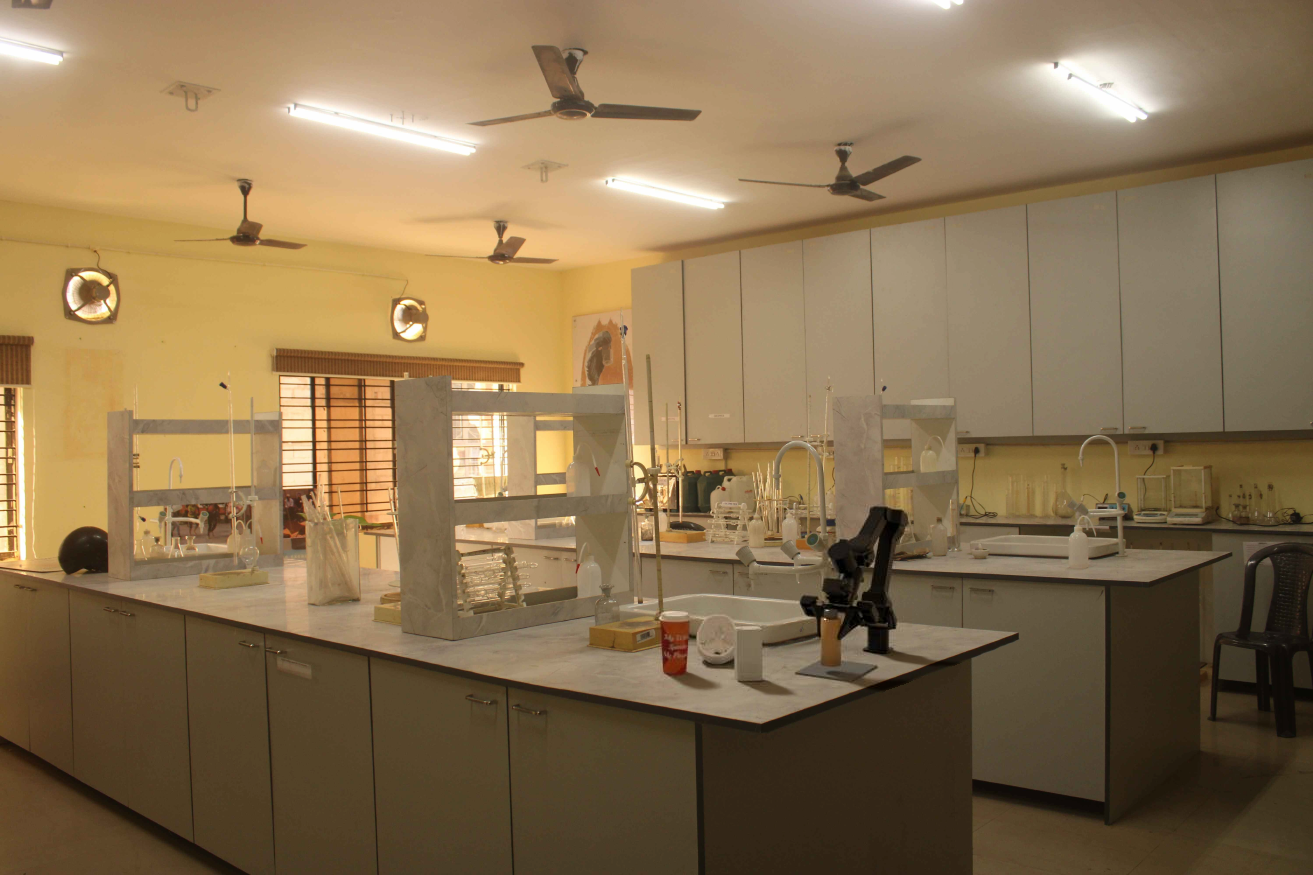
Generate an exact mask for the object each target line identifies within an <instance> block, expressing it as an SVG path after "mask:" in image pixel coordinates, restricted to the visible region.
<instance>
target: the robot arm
mask: <svg viewBox="0 0 1313 875" xmlns="http://www.w3.org/2000/svg"><path fill="white" fill-rule="evenodd" d="M908 523H909V516H908V514H907V512H905V510H904V509H902V508H901V509H898V508H891V507H888V506H884V505H883V506H882V505H880V506H879V505H874V506H871V507H870V508H869V514H868V515H867V517H866V520H865V521H864V522H863V525H862V527H861V528H860V529H859V532H858V534H857V535H856V536H854V537H852V538H850V539H849V540H848V539H847V538H845V539H843V538H840V539H839V540H838V542H836V543H832V545H830V546H829V548H828V549H827V555H828V558H829V560H830V562H831V564H832V567H833V570H834V571H835V572H836V573H838V575H837V578H833V577H832V578H829V577H824V578H823V581H822V586H821V591H822V592H823V593H825V595H824V596H825V597H824V598H825V599H826V601H827V600H828V602H826V601H823V600H822V599H819V596H818V595H812V594H811V595H810V594H809V595H808V594H803V595H802V596H801V597H800V600H799V605H800V607H801V610H802V612H803V613H804V615H805V616H807V617H808V618H815V619H816V626H817V627H816V630H817V631H816V632H817V633H816V635H817V637H818V638H820V639H821V618H822V617H824V610H825V609H836V610H838V614H844V617H843V619H842V620H843V621H842V622H841V628H840V630H839V634H838V640H841V641H842V639H844V638H845V637H846V636H847V635H848V634H849V633H851V632H852V631H853V630H855V629H856V628H857V627H860V628H864V627H865V628H866V641H867V642H866V647H863V648H862V651H864V652H871V653H878V654H888V653H889V652H891V651H893V650H894V647H892V646H890V631H892V630H897V625H898V619H897V616H896V614H895V611H894V608H893V602H892V599H891V597H890V595H889V589H890V583H891V576H892V571H893V566H894V559H895V554H896V548H897V547H896V546H897V542H899V540H900V539H901V538H902V537H903V536H904V535H905V532H906V527H907V526H908ZM877 541H878V543H877ZM876 543H877V548H876V551H875V550H874V548H875V544H876ZM875 552H876V553H875ZM873 563H874V565H873V570H872V577H871V582H870V587H869V588H868V590H866V591H865V590H864V591H863V592H862V594H861V600H858V599H859V595H858V591H859V589H860V585H861V583H864V582H865V578H864V571H863V569H862V568H870V567H871V566H872V564H873ZM855 601H856V603H855ZM854 604H855V605H854Z"/></svg>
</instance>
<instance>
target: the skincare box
mask: <svg viewBox="0 0 1313 875" xmlns="http://www.w3.org/2000/svg"><path fill="white" fill-rule="evenodd" d="M733 659H734V660H733V661H734V678H735V680H736V681H737V682H750V681H751V682H756V681H757V682H758V681H759V682H761V681H763V629H762V628H761V627H760V626H757V625H756V626H755V625H754V626H752V625H751V626H749V625H748V626H746V625H745V626H735V627H734V658H733Z"/></svg>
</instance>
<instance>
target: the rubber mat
mask: <svg viewBox="0 0 1313 875" xmlns="http://www.w3.org/2000/svg"><path fill="white" fill-rule="evenodd" d="M877 667H878V665H877V664H873V663H872V664H871V663H864V662H863V663H862V662H856V661H851V660H850V661H849V660H842V659H841V666H838V667H827V666H823V665H821V659H819V660H817V661H815V662H812V663H811V664H809V665H807V666H805V667H802V668H801V669H799V670H797V671H795V672H794V674H795V675H800V676H806V677H808V676H809V677H815V678H821V679H827V680H828V679H829V680H833V681H835V680H836V681H841V682H849V683H852V682H853V680H854V681H855V680H857V679H859V678H861V677H862V676H864V675H865V674H866V675H867V673H869V672H870V671H872V669H873V670H874V669H877ZM860 676H861V677H860Z"/></svg>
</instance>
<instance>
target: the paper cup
mask: <svg viewBox="0 0 1313 875" xmlns="http://www.w3.org/2000/svg"><path fill="white" fill-rule="evenodd" d="M658 620H659V621H660V641H661V642H660V643H661V644H660V645H661V646H660V647H661V656H662V657H661V661H662V671H663V673H664V674H666V675H676V676H677V675H683V674H686V673H687V669H688V668H687V666H688V653H689V651H688V650H689V639H690V638H689V636H690V635H689V634H690V621H692V618H691V615H690V614H689V612H687V611H679V610H677V611H676V610H675V611H674V610H670V611H662V612H661V613H660V616H659V617H658Z"/></svg>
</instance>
